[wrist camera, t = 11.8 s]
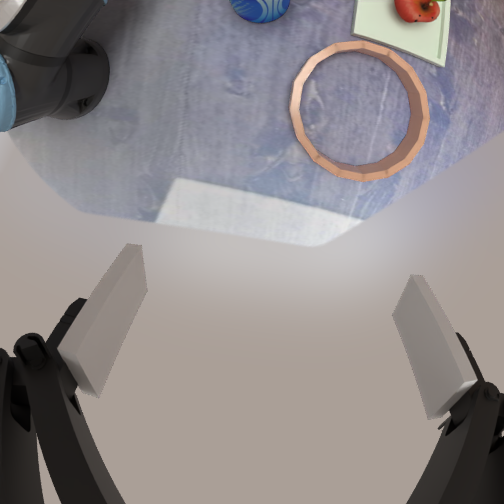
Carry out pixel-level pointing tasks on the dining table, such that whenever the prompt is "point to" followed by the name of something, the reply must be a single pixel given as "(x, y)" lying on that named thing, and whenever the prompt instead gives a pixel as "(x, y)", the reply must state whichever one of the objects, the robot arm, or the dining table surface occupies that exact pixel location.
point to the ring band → (416, 123)
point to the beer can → (260, 9)
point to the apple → (418, 10)
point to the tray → (402, 30)
